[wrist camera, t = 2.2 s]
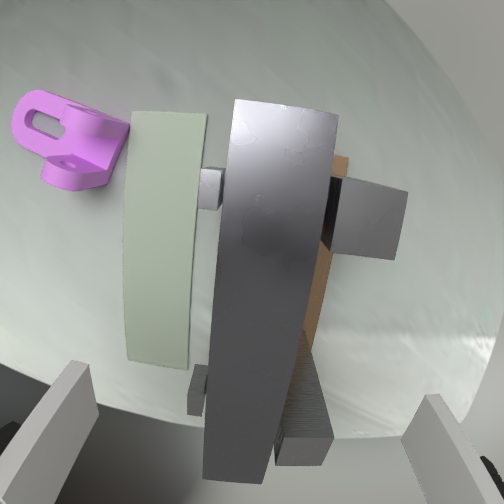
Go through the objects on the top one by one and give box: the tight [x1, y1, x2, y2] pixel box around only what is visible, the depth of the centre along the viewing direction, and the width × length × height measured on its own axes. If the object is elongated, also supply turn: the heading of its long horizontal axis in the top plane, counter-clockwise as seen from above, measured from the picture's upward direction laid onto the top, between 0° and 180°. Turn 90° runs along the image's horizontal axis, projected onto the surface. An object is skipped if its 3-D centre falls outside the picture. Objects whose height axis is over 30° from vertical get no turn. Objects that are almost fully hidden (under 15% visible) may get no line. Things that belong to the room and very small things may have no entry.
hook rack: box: [187, 155, 408, 466], centre depth 21 cm, size 10×20×14 cm, turn 173°
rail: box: [203, 99, 339, 484], centre depth 17 cm, size 4×22×6 cm, turn 173°
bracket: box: [12, 90, 130, 191], centre depth 21 cm, size 13×6×7 cm, turn 63°
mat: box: [123, 111, 207, 370], centre depth 27 cm, size 6×24×1 cm, turn 173°
